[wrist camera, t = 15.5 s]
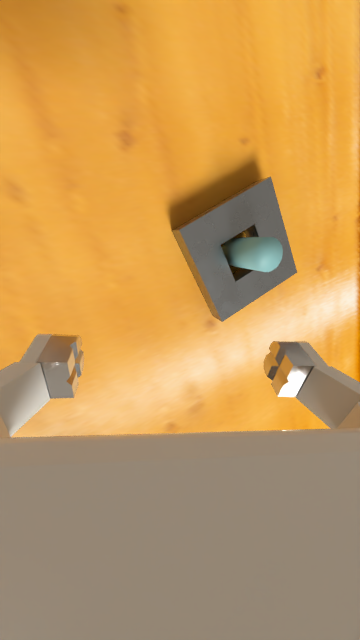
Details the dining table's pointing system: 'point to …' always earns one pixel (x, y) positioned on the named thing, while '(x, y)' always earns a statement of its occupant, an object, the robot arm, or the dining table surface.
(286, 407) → the dining table surface
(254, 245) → the teal peg
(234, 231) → the socket block
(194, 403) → the dining table surface
